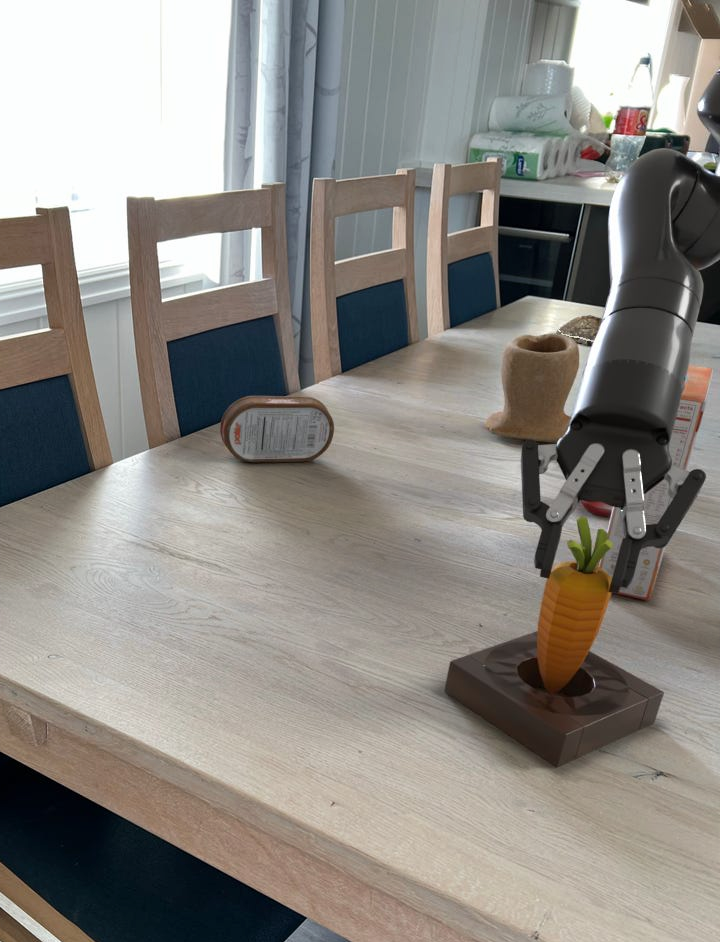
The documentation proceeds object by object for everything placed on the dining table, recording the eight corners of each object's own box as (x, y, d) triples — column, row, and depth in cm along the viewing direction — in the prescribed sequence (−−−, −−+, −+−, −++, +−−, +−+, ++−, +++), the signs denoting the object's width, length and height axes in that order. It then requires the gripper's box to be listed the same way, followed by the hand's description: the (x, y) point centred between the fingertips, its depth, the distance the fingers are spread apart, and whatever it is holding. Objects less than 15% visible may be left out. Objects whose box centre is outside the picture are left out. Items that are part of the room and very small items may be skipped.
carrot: (586, 714, 77) (635, 541, 70) (522, 705, 78) (564, 532, 70) (578, 681, 81) (624, 515, 74) (518, 673, 82) (557, 507, 75)
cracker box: (607, 542, 111) (655, 358, 101) (662, 554, 109) (718, 367, 99) (588, 589, 100) (640, 387, 90) (649, 603, 98) (710, 398, 88)
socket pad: (539, 656, 87) (547, 627, 86) (654, 723, 79) (664, 692, 77) (443, 691, 81) (449, 660, 80) (557, 767, 73) (565, 735, 71)
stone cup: (479, 444, 141) (499, 338, 133) (486, 421, 151) (505, 322, 143) (588, 460, 137) (614, 352, 130) (588, 436, 147) (612, 334, 140)
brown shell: (627, 341, 209) (633, 317, 207) (601, 349, 201) (607, 324, 199) (572, 330, 217) (577, 307, 214) (545, 336, 209) (550, 312, 206)
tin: (326, 455, 132) (333, 394, 128) (333, 463, 130) (340, 401, 125) (218, 457, 129) (221, 394, 125) (222, 465, 126) (226, 401, 122)
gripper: (541, 342, 75) (484, 542, 71) (741, 371, 71) (691, 586, 67) (537, 394, 82) (484, 579, 78) (718, 423, 78) (671, 620, 74)
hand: (579, 581), depth 73 cm, fingers closed on carrot, 4 cm apart
